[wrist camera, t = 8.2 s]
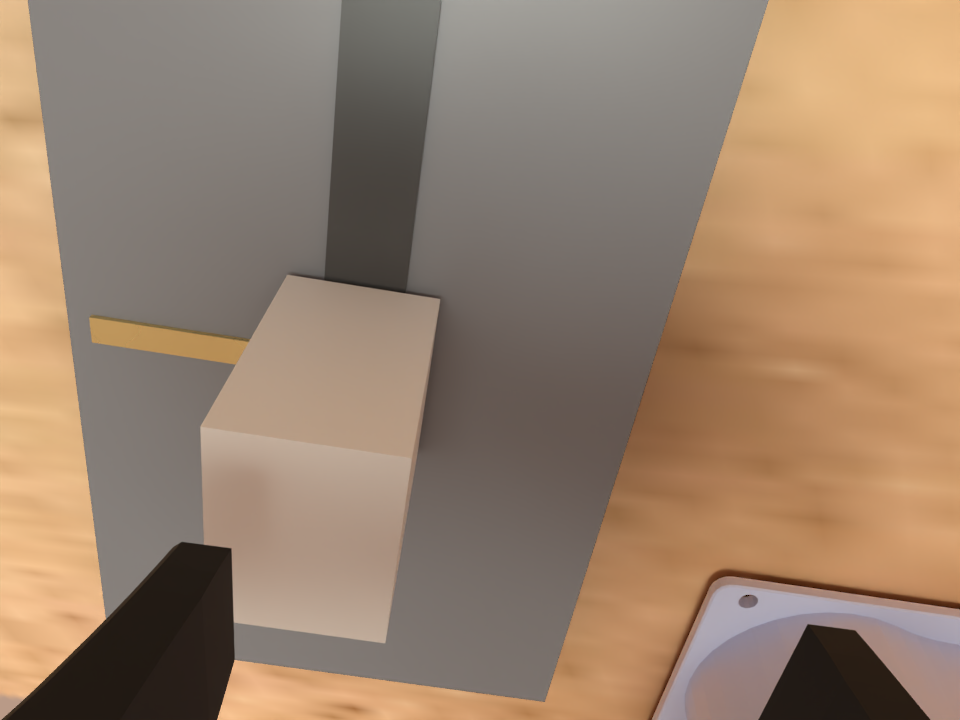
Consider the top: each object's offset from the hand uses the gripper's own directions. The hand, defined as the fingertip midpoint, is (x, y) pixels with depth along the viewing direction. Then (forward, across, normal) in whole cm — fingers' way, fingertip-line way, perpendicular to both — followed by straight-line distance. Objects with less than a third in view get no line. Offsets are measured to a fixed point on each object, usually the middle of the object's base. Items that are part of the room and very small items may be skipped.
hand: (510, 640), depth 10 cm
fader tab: (+7, +3, +1) cm, 8 cm away
